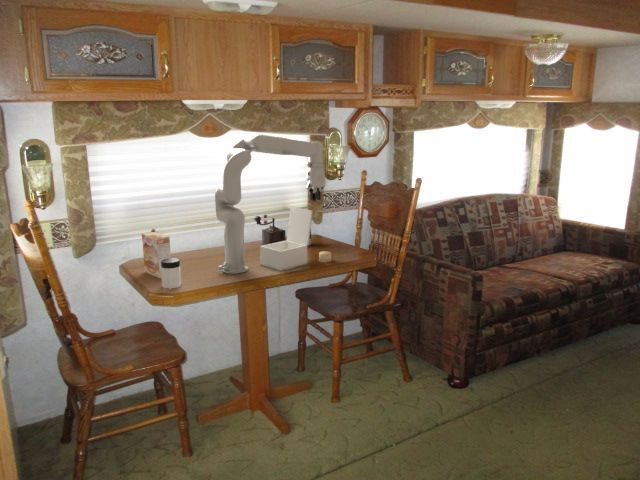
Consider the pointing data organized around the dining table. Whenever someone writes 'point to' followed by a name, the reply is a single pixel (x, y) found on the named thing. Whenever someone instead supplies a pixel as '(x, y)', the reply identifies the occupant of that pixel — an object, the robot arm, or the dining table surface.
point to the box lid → (299, 225)
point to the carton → (283, 255)
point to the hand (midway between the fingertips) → (315, 199)
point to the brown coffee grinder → (271, 233)
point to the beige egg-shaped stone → (324, 256)
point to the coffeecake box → (155, 252)
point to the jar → (171, 273)
